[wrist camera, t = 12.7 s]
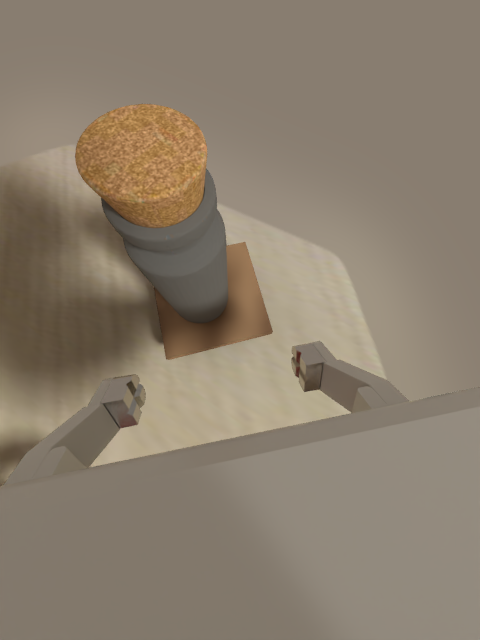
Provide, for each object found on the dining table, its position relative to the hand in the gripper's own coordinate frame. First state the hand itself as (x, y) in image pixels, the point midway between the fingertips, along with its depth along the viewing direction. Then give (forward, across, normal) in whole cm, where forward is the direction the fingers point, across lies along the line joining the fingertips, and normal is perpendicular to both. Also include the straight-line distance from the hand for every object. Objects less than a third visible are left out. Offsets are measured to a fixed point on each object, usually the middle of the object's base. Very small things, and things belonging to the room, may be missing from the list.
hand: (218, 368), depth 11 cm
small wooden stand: (+15, 0, +4) cm, 16 cm away
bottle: (+12, +1, +1) cm, 13 cm away
